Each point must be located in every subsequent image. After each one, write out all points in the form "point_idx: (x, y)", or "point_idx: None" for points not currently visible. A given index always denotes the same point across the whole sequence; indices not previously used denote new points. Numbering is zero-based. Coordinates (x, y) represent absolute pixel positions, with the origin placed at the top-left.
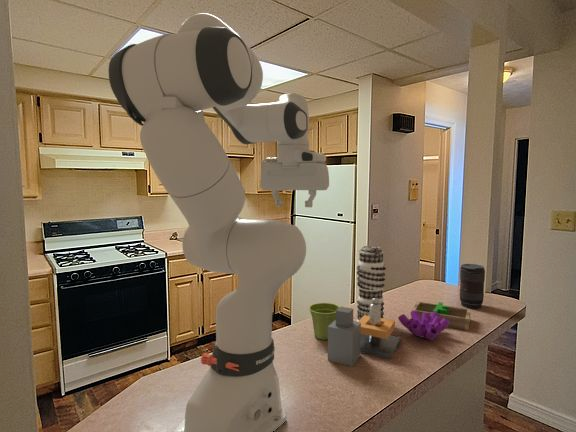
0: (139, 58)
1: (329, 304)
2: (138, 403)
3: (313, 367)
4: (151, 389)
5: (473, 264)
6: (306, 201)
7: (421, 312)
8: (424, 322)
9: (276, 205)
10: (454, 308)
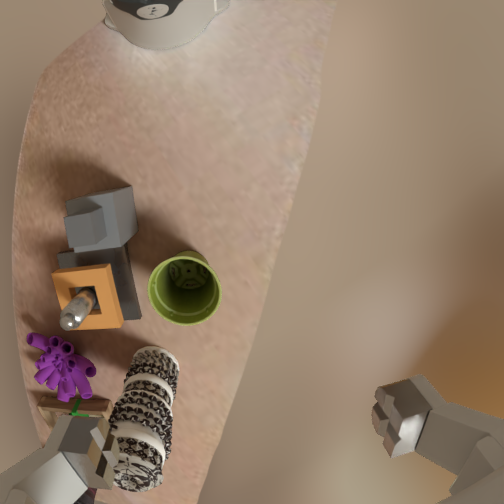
0: None
1: (191, 321)
2: None
3: (139, 149)
4: None
5: None
6: (73, 448)
7: (92, 410)
8: (63, 372)
9: (410, 378)
10: None
